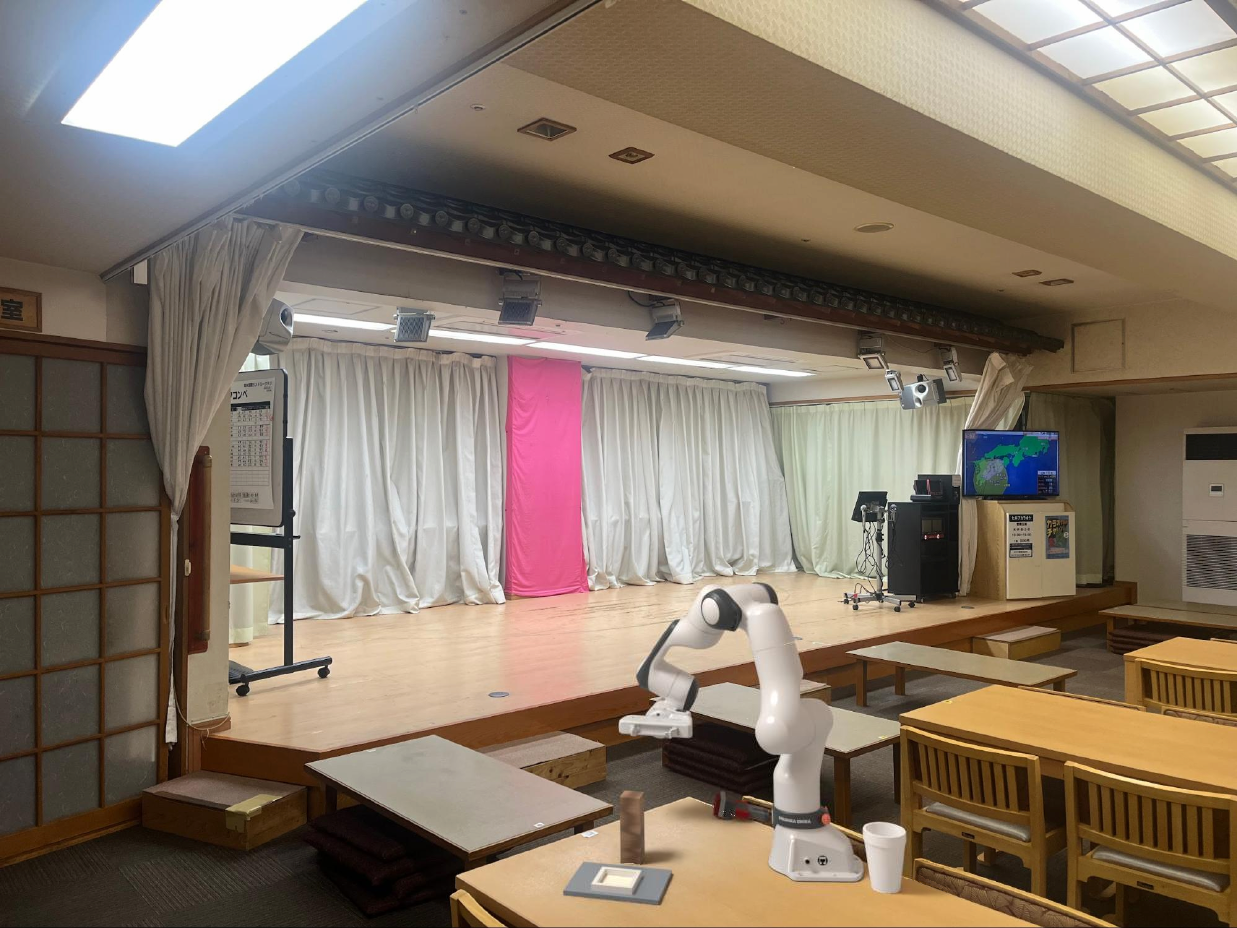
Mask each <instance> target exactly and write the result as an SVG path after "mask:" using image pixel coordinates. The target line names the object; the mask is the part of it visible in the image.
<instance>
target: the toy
mask: <svg viewBox="0 0 1237 928" xmlns="http://www.w3.org/2000/svg"><path fill="white" fill-rule="evenodd" d="M713 807H714V808H713ZM713 807H712V816H715V817H717V818H718V819H720V820H721V819H722V820H727V821H730V820H732V819H733V817H734V818H736V819H737V818H739V819H742V820H745V821H746V820H747V821H749V819H753V820H758V821H763V822H769V819H770V813H769V809H768V808H765V807H761V806H757V805H753V804H749V803H748V802H747V801H744V800H739V799H735V798H734V796H730V795H726V792H725V791H721V790H720V793H717V792H716V793H715V798H714V803H713ZM723 811H724V812H723ZM731 814H732V815H731ZM734 815H735V816H734Z"/></svg>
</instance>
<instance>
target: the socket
mask: <svg viewBox="0 0 1237 928" xmlns="http://www.w3.org/2000/svg"><path fill="white" fill-rule="evenodd" d="M640 879H641V870H632V869H622V868H612V867H602V868H601V869H600V871H599V873H598V874H597V876H596V877H595V879H594V880H593V882H592V883H591V891H599V892H608V893H618V894H627V895H632V894H633V892H634V890H635V888H636V886H637V885H638V883H639V881H640Z"/></svg>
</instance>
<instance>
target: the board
mask: <svg viewBox="0 0 1237 928" xmlns="http://www.w3.org/2000/svg"><path fill="white" fill-rule="evenodd" d="M602 867H612V868H622V869H632V870H641V879H640V881H639V883H638V885H637V886H636V888H635V890H634V892H633V894H632V895H627V894H618V893H608V892H599V891H591V883H592V882H593V880H594V879H595V877H596V876H597V874H598V873H599V871H600V869H601V868H602ZM672 874H673V871H672V869H664V868H655V867H654V868H652V867H643V866H636V865H635V866H633V865H623V864H613V863H612V864H611V863H602V862H601V863H600V862H592V861H582V863H581V864H580V865H579V867H578V868H577V870H576V872H574V874H573V876H572V877H571V878H570V880H569V881H568V883H567V884H566V886H565V887H564V889H563V891H562V893H563V896H569V895H571V897H578V896H581V898H588V897H591V898H590V899H597V898H601V900H607V901H608V900H610V901H618V902H625V901H630V902H629V903H635V904H644V903H648V904H647V905H653V906H654V905H656V906H659V905H660V903H659V902H661V900H662V897H663V895H664V893H665V891H666V889H667V887H666V886H668V885H669V881H670V880H669V879H671V877H672ZM665 888H666V889H665Z"/></svg>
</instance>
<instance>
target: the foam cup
mask: <svg viewBox="0 0 1237 928" xmlns="http://www.w3.org/2000/svg"><path fill="white" fill-rule="evenodd" d="M862 839H863V841H864V847H865V854H866V860H867V867H868V873H869V875H868V876H869V880H870V886H871V889H872V890H874V891H875V892H878V893H882V894H887V893H888V895H889V894H890V895H891V893H893V894H897V893H899V892H900V891H901V886H902V878H903V869H904V868H903V867H904V859H905V851H906V850H905V849H906V848H905V847H906V844H907V831H906V830H905V828H904V827H902V826H900V825H898V824H895V823H890V822H885V821H884V822H883V821H874V822H868V823H866V824H864V825H863V827H862Z"/></svg>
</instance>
